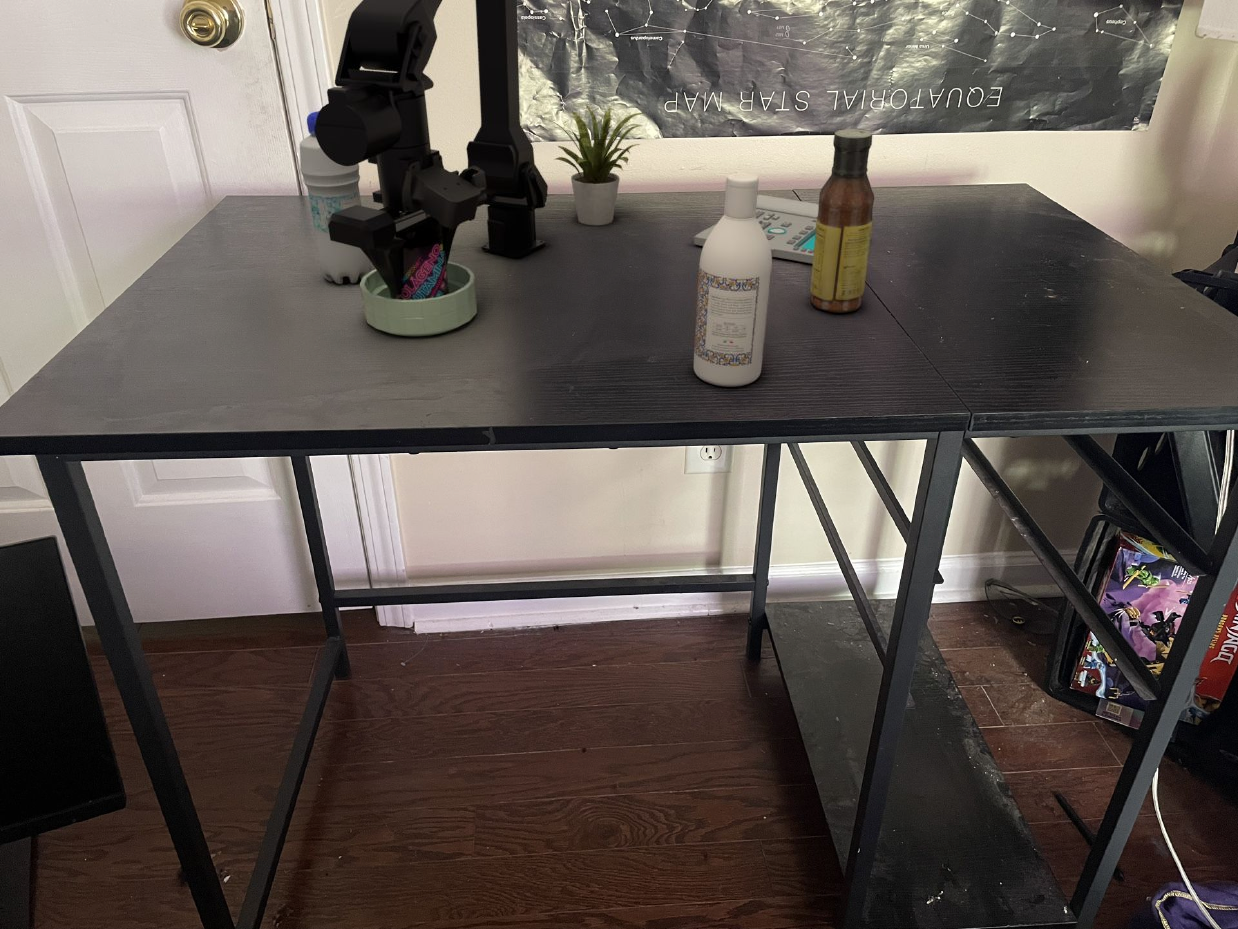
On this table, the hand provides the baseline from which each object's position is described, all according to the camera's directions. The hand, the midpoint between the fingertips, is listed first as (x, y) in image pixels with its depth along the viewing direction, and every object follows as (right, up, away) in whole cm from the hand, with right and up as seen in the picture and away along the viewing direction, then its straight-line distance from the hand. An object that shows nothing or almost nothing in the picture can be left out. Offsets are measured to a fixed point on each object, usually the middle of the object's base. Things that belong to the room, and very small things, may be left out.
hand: (419, 284), depth 102 cm
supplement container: (0, -3, +2) cm, 3 cm away
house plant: (+21, +16, +32) cm, 41 cm away
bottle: (-12, +3, +12) cm, 17 cm away
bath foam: (+34, -11, -9) cm, 37 cm away
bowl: (0, -3, +2) cm, 4 cm away
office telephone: (+47, +12, +27) cm, 56 cm away
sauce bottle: (+48, -2, +6) cm, 49 cm away
